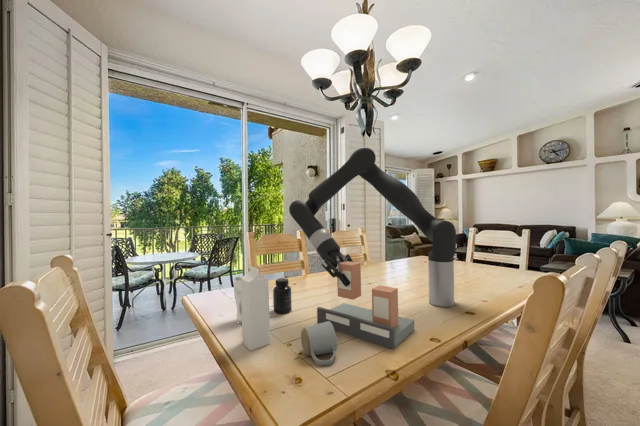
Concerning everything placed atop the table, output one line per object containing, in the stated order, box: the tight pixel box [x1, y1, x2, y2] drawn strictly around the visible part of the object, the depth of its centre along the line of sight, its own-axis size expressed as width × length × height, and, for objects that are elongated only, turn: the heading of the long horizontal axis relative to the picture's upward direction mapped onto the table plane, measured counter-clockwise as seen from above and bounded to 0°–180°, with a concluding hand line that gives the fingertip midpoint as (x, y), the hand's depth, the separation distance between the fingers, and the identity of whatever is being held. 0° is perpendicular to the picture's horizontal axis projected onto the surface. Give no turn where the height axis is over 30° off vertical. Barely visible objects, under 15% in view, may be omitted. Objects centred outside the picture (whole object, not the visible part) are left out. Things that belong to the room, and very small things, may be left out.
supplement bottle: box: [272, 277, 293, 315], centre depth 104 cm, size 7×7×12 cm
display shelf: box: [316, 302, 415, 350], centre depth 88 cm, size 16×27×6 cm, turn 50°
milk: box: [241, 265, 271, 352], centre depth 79 cm, size 6×6×22 cm
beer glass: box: [233, 275, 244, 324], centre depth 96 cm, size 7×7×15 cm
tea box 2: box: [371, 284, 399, 328], centre depth 82 cm, size 5×6×11 cm
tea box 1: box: [336, 261, 362, 301], centre depth 90 cm, size 5×6×11 cm
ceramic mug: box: [300, 321, 338, 366], centre depth 71 cm, size 11×8×8 cm
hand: (353, 282), depth 89 cm, fingers closed on tea box 1, 5 cm apart
